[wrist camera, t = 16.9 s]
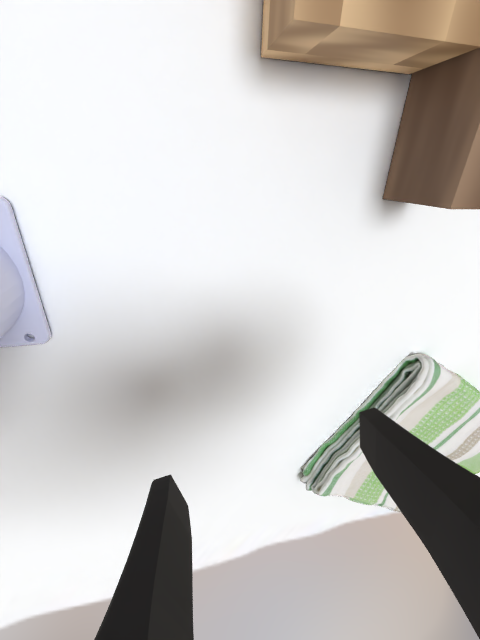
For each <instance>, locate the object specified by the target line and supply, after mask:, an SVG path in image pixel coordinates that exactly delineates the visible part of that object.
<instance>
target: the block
mask: <svg viewBox="0 0 480 640" xmlns="http://www.w3.org/2000/svg"><path fill="white" fill-rule="evenodd" d="M477 48H480V0H264V4H263V25H262V46H261V57H264V58H273V59H282V60H290V61H299V62H308V63H317V64H325V65H334V66H343V67H351V68H360V69H369V70H378V71H386V72H395V73H404V74H411V73H414V72H417V71H419V70H422V69H424V68H427V67H430V66H432V65H435V64H438V63H440V62H443V61H446V60H448V59H451V58H453V57H456V56H459V55H461V54H464V53H467V52H469V51H472V50H474V49H477Z"/></svg>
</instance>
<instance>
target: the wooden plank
mask: <svg viewBox="0 0 480 640" xmlns="http://www.w3.org/2000/svg"><path fill="white" fill-rule="evenodd" d="M383 199H387V200H393V201H400V202H407V203H413V204H420V205H426V206H433V207H440V208H446V209H480V48H477V49H474V50H472V51H469V52H467V53H464V54H461V55H459V56H456V57H453V58H451V59H448V60H446V61H443V62H440V63H438V64H435V65H432V66H430V67H427V68H424V69H422V70H419V71H417V72H414V73H412V77H411V81H410V85H409V89H408V94H407V98H406V102H405V106H404V110H403V115H402V119H401V123H400V127H399V132H398V136H397V140H396V144H395V149H394V153H393V157H392V161H391V166H390V170H389V174H388V178H387V183H386V187H385V191H384V195H383Z"/></svg>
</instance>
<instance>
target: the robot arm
mask: <svg viewBox="0 0 480 640" xmlns="http://www.w3.org/2000/svg"><path fill="white" fill-rule="evenodd" d="M27 334H32V335H33V336H34V337H35V338H30V337H28V335H27ZM50 337H51V332H50V329H49V325H48V322H47V319H46V316H45V313H44V309H43V306H42V303H41V300H40V297H39V293H38V290H37V287H36V284H35V280H34V277H33V274H32V271H31V268H30V264H29V261H28V258H27V255H26V252H25V248H24V245H23V242H22V239H21V236H20V232H19V229H18V226H17V223H16V220H15V216H14V213H13V210H12V207H11V205H10V203H9V201H8V200H7V199H6V198H4V197H2V196H0V347H11V346H23V345H35V344H44V343H46V342H48V341H49V339H50ZM359 423H360V448H361V450H362V452H363V454H364V456H365V458H366V459H367V461H368V463H369V465H370V466H371V468H372V470H373V472H374V473H375V475H376V476H377V478H378V479H379V481H380V482H381V484H382V485H383V487H384V488H385V489H386V491H387V492H388V494H389V495H390V497H391V498H392V499H393V501H394V502H395V504H396V505H397V507H398V508H399V509H400V511H401V512H402V514H403V515H404V516H405V518H406V519H407V521H408V522H409V523H410V525H411V526H412V527H413V529H414V530H415V532H416V533H417V535H418V536H419V538H420V539H421V541H422V542H423V544H424V545H425V547H426V548H427V550H428V551H429V553H430V555H431V556H432V558H433V560H434V561H435V563H436V565H437V566H438V568H439V570H440V571H441V573H442V575H443V576H444V578H445V580H446V581H447V583H448V585H449V586H450V588H451V589H452V591H453V593H454V595H455V597H456V598H457V600H458V602H459V604H460V605H461V607H462V609H463V610H464V612H465V614H466V616H467V618H468V619H469V621H470V623H471V624H472V626H473V628H474V630H475V632H476V633H477V635H478V637H479V639H480V477H478V476H477V475H475V474H473V473H472V472H470V471H468V470H467V469H465V468H463V467H462V466H460V465H458V464H457V463H455V462H454V461H452V460H450V459H449V458H447V457H446V456H444V455H443V454H441V453H440V452H438V451H437V450H435V449H434V448H432V447H431V446H429V445H428V444H426V443H425V442H423V441H422V440H420V439H419V438H417V437H416V436H414V435H413V434H411V433H410V432H409V431H407V430H406V429H404V428H403V427H402V426H400V425H399V424H397V423H396V422H395V421H393V420H392V419H391V418H389V417H388V416H386V415H385V414H384V413H382V412H381V411H380V410H378V409H377V408H375V407H374V408H371V409H368V410H365V411H362V412H359ZM192 597H193V596H192V537H191V527H190V518H189V509H188V505H187V503H186V501H185V499H184V497H183V496H182V494H181V492H180V490H179V489H178V487H177V485H176V483H175V481H174V480H173V478H172V476H171V475H168V476H165V477H162V478H159V479H156V480H154V481H153V482H152V484H151V488H150V492H149V495H148V499H147V502H146V505H145V509H144V512H143V515H142V518H141V521H140V524H139V527H138V530H137V533H136V536H135V539H134V542H133V545H132V548H131V551H130V553H129V556H128V559H127V562H126V564H125V567H124V570H123V572H122V575H121V577H120V580H119V582H118V585H117V588H116V590H115V593H114V595H113V598H112V600H111V603H110V605H109V607H108V610H107V612H106V615H105V617H104V620H103V622H102V624H101V626H100V628H99V631H98V633H97V635H96V637H95V640H193V639H194V638H193V604H192V603H193V602H192V600H193V599H192Z"/></svg>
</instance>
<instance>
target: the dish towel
mask: <svg viewBox="0 0 480 640" xmlns="http://www.w3.org/2000/svg"><path fill="white" fill-rule="evenodd" d="M374 407H375V408H377V409H378V410H380V411H381V412H382V413H384V414H385V415H386V416H388V417H389V418H391V419H392V420H393V421H395V422H396V423H397V424H399V425H400V426H402V427H403V428H404V429H406V430H407V431H409V432H410V433H411V434H413V435H414V436H416V437H417V438H419V439H420V440H422V441H423V442H425V443H426V444H428V445H429V446H431V447H432V448H434V449H435V450H437V451H438V452H440V453H441V454H443V455H444V456H446V457H447V458H449V459H450V460H452V461H454V462H455V463H457V464H458V465H460V466H462V467H463V468H465V469H467V470H468V471H470V472H472V473H473V474H476V473H479V472H480V392H479V391H478V390H477V389H476V388H475V387H473V386H472V385H471V384H470V383H468V382H467V381H466V380H464V379H463V378H462V377H461V376H459V375H458V374H455V373H453V372H452V371H450V370H448V369H446V368H445V367H444V366H443V365H441V364H439V363H437V362H436V361H435V360H434V359H433V358H431V357H430V356H428V355H425V354H414V355H410V356H407V357H406V358H404V359H403V360H402V361H401V362H400V363H399V364H398V365H397V367H396V368H395V369H394V370H393V371H392V372H391V373H390V374H389V375H388V376H387V377H386V378H385V379H384V380H383V381H382V382H381V383H380V385H379V386H378V387H377V388H376V389H375V390H374V391H373V393H372V394H371V395H370V396H369V397H368V399H367V400H366V401H365V402H364V403H363V404H362V405H361V406H360V407H358V408H357V409H356V410H355V411H354V413H353V415H352V416H351V417H350V418H348V420H347V421H346V422H345V423H344V424H342V425H341V427H340V428H339V429H338V430H337V431H336V432H335V433H334V435H333V436H332V437H331V438H330V439H328V440H327V441H326V442H324V443H323V444H322V445H321V446H320V447H319V449H318V451H317V452H316V453H315V455H314V456H313V457H312V458H311V459H310V460H309V461H308V462H307V463H306V464H305V465H303V466H302V467H301V469H302V470H303V475H305V476H303V477H302V478H301V481H302V482H303V483H306V490H308V491H309V490H312V491H313V492H314V493H315V494H317V495H320V496H340V497H345V498H347V499H349V500H352V501H354V502H357V503H362V504H366V505H376V506H381V507H385V508H388V509H390V510H393V511H398V512H401V511H400V509H399V508H398V507H397V505H396V504H395V502H394V501H393V499H392V498H391V497H390V495H389V494H388V492H387V491H386V489H385V488H384V487H383V485H382V484H381V482H380V481H379V479H378V478H377V476H376V475H375V473H374V472H373V470H372V468H371V466H370V465H369V463H368V461H367V459H366V458H365V456H364V454H363V452H362V450H361V448H360V423H359V412H362V411H365V410H368V409H371V408H374Z"/></svg>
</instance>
